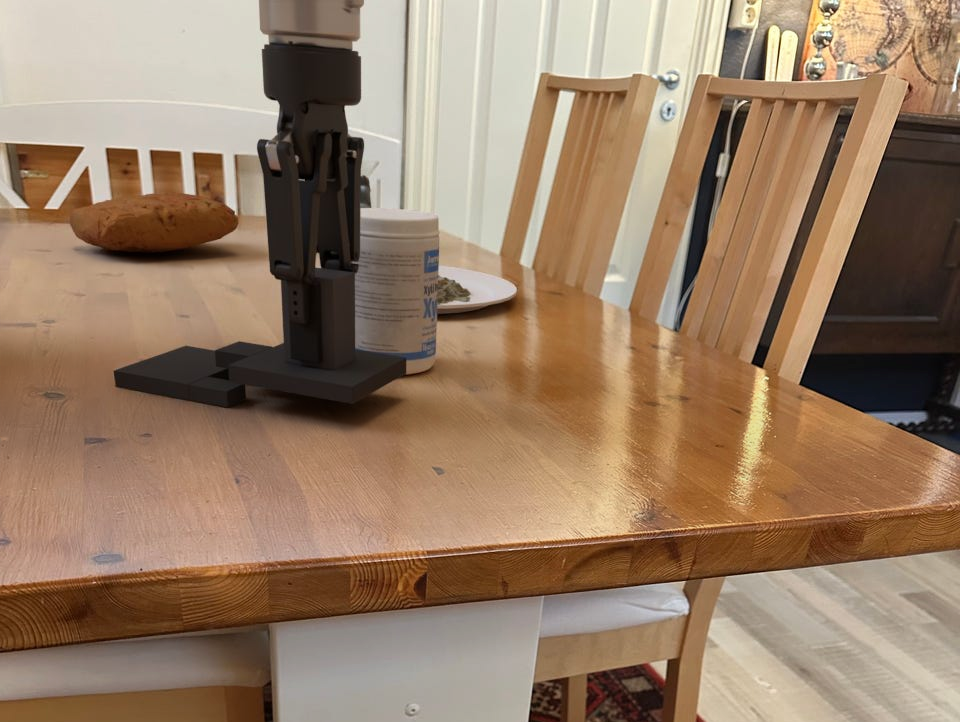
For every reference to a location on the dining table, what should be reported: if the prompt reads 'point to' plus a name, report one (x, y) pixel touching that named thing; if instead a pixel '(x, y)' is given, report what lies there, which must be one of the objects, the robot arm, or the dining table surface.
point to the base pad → (183, 377)
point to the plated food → (470, 290)
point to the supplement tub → (398, 285)
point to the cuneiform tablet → (153, 222)
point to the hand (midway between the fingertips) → (319, 353)
